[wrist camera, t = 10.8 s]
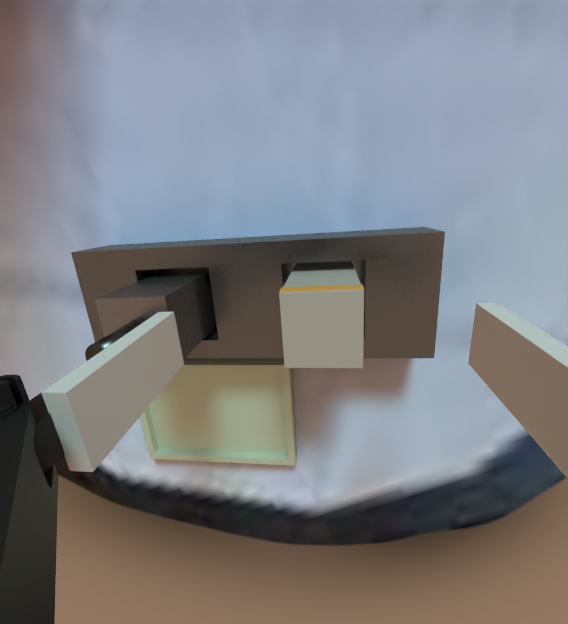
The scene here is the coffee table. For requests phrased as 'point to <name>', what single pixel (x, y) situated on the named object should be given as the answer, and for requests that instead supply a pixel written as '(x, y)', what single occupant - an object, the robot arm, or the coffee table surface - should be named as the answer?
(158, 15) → the coffee table surface
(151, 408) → the tray
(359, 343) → the plug
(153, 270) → the panel
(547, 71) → the coffee table surface
